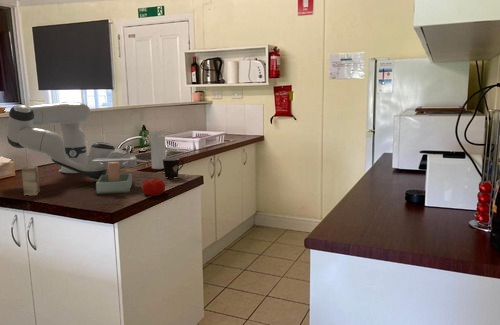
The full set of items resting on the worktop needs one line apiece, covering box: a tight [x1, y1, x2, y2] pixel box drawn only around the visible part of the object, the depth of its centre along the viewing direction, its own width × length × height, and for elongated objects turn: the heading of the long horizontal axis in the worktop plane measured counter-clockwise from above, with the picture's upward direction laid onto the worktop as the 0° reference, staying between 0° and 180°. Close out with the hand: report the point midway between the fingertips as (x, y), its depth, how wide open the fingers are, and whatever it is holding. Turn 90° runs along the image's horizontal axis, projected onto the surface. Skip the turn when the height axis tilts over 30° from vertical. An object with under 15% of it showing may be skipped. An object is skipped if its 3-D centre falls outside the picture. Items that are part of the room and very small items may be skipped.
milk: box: [150, 130, 167, 170], centre depth 243 cm, size 6×6×22 cm
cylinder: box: [107, 162, 121, 182], centre depth 188 cm, size 5×5×12 cm
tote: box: [95, 173, 133, 195], centre depth 193 cm, size 18×14×5 cm
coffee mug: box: [163, 157, 184, 178], centre depth 216 cm, size 12×9×10 cm
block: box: [21, 165, 41, 197], centre depth 182 cm, size 5×5×12 cm
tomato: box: [142, 177, 166, 197], centre depth 182 cm, size 10×11×6 cm
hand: (113, 165), depth 187 cm, fingers open, 8 cm apart
